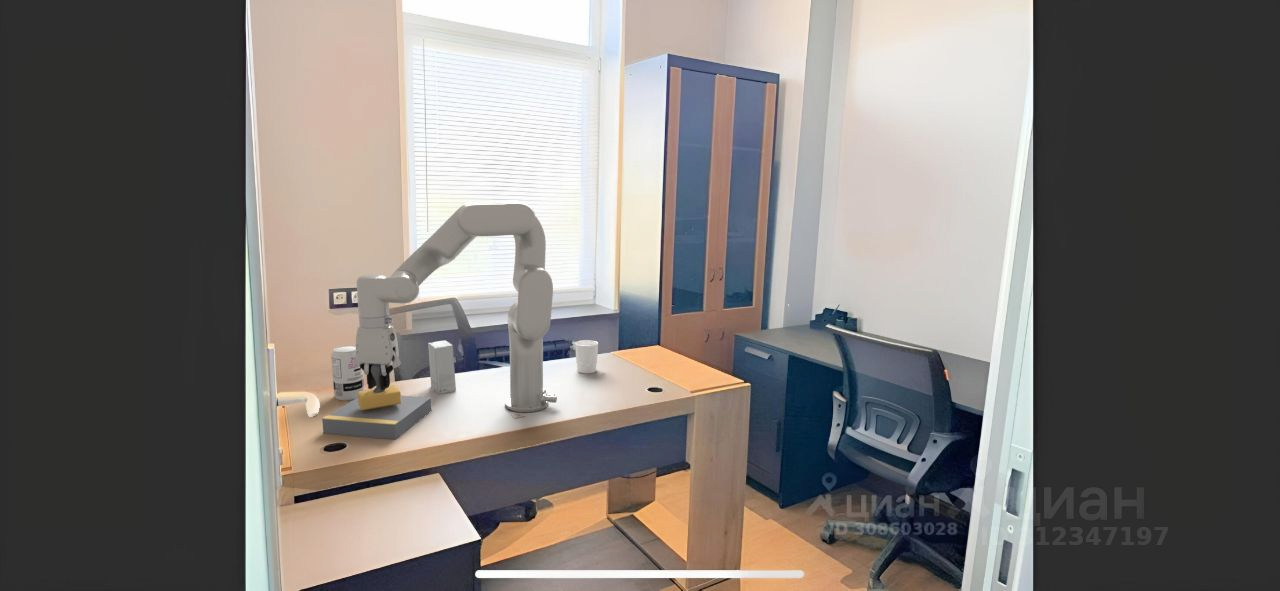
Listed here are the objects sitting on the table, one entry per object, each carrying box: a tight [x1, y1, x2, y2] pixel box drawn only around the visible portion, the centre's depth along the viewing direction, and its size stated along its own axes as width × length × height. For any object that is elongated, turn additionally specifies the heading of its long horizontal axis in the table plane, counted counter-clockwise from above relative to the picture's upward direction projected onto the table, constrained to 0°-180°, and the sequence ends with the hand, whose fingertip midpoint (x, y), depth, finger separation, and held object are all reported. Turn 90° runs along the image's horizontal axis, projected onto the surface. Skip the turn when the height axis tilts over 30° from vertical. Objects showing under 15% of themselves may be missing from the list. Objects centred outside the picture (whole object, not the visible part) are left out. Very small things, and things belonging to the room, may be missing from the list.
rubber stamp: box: [358, 364, 402, 411], centre depth 171 cm, size 10×6×12 cm, turn 123°
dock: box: [321, 395, 433, 440], centre depth 172 cm, size 20×20×4 cm
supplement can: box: [330, 345, 365, 402], centre depth 189 cm, size 8×8×15 cm
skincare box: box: [427, 339, 457, 395], centre depth 198 cm, size 8×6×15 cm
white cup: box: [574, 339, 599, 374], centre depth 221 cm, size 8×8×10 cm
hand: (378, 387), depth 171 cm, fingers closed on rubber stamp, 3 cm apart
